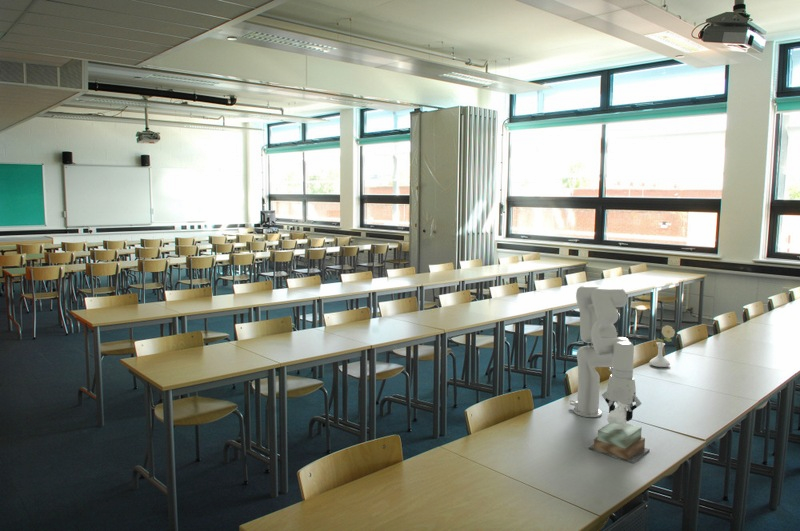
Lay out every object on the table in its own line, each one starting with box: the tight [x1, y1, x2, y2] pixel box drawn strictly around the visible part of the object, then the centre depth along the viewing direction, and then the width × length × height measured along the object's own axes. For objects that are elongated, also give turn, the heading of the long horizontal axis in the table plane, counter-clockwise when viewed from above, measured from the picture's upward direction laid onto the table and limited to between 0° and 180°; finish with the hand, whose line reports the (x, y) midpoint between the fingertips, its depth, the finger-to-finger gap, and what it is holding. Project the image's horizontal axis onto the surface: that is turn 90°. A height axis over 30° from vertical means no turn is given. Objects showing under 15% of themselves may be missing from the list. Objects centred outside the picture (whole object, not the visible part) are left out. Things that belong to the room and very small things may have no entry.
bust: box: [606, 401, 629, 424], centre depth 228 cm, size 12×8×11 cm
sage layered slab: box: [588, 422, 650, 464], centre depth 230 cm, size 18×15×9 cm
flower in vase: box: [649, 324, 676, 368], centre depth 346 cm, size 13×11×25 cm
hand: (620, 417), depth 229 cm, fingers closed on bust, 6 cm apart
